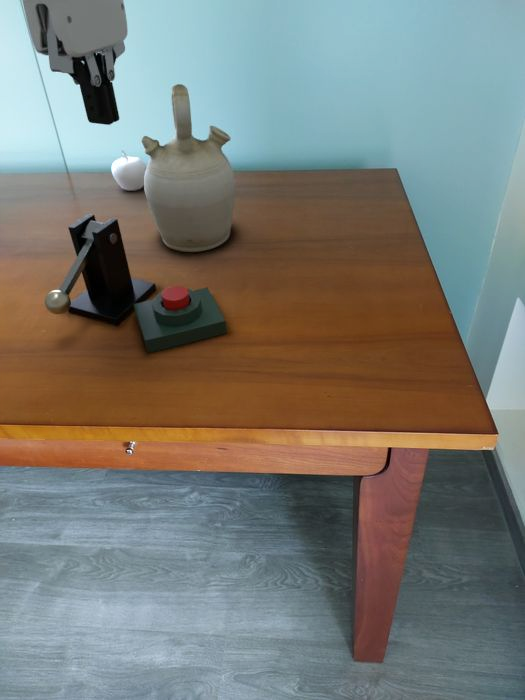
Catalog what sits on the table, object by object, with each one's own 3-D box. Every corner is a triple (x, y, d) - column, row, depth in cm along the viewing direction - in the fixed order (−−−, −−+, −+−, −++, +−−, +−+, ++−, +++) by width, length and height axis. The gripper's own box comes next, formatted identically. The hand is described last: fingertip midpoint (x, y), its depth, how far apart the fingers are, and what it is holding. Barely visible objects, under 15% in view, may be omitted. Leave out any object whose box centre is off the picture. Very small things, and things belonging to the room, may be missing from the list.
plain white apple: (118, 182, 115) (110, 145, 110) (151, 180, 116) (144, 143, 110) (113, 195, 110) (104, 157, 105) (147, 193, 110) (140, 155, 105)
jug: (243, 216, 100) (234, 71, 84) (232, 258, 88) (219, 98, 72) (164, 216, 101) (140, 73, 85) (144, 257, 90) (111, 100, 74)
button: (166, 313, 70) (164, 303, 69) (161, 299, 73) (159, 289, 72) (192, 307, 71) (191, 297, 70) (186, 294, 74) (184, 283, 73)
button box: (147, 353, 70) (142, 329, 67) (136, 316, 76) (130, 293, 74) (226, 333, 73) (224, 309, 70) (208, 299, 79) (206, 276, 77)
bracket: (117, 325, 75) (96, 245, 67) (68, 312, 78) (41, 233, 70) (156, 289, 82) (141, 212, 74) (109, 278, 85) (90, 203, 77)
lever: (68, 321, 70) (54, 309, 67) (49, 315, 71) (35, 304, 68) (115, 235, 74) (104, 221, 71) (97, 232, 75) (85, 217, 72)
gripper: (78, -91, 54) (117, 101, 66) (-40, -88, 44) (31, 139, 55) (139, -95, 51) (168, 106, 63) (28, -92, 41) (87, 147, 53)
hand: (104, 121), depth 59 cm, fingers closed
